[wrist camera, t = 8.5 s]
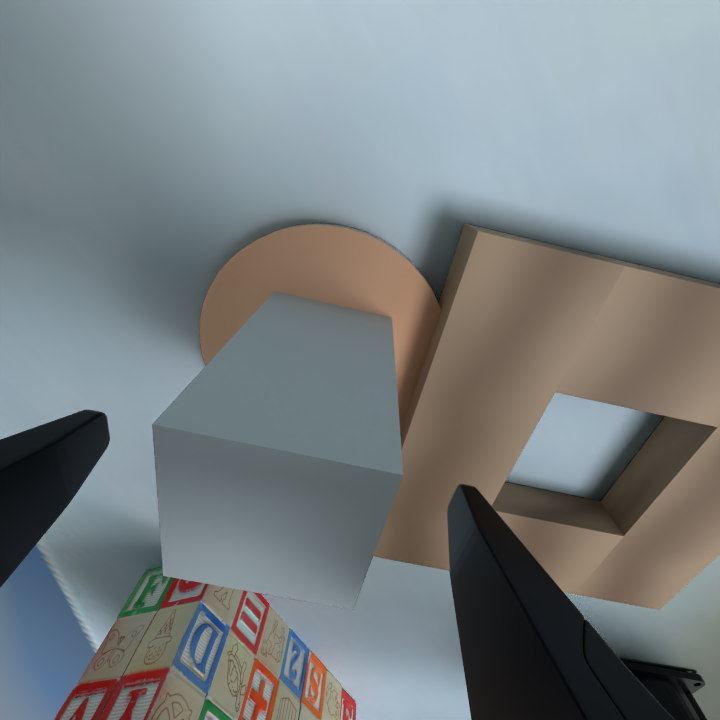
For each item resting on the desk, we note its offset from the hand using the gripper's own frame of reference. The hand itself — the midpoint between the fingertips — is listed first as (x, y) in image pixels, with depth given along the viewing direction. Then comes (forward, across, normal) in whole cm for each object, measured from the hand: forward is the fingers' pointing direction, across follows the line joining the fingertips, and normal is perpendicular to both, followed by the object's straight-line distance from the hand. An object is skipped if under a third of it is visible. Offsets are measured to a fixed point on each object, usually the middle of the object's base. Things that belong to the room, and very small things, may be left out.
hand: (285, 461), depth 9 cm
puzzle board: (+7, -12, +2) cm, 14 cm away
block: (+6, 0, 0) cm, 6 cm away
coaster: (+7, 0, 0) cm, 7 cm away
